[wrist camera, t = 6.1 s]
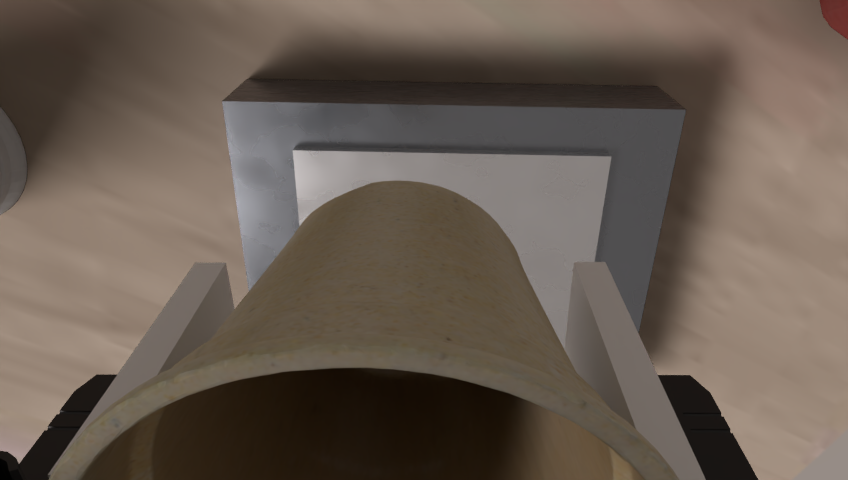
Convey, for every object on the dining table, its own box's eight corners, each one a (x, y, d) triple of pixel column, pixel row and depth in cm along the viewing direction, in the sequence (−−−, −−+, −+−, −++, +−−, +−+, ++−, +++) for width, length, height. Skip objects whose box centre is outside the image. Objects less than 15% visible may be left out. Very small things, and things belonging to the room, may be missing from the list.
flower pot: (582, 410, 18) (681, 765, 11) (269, 430, 19) (155, 778, 11) (585, 94, 14) (757, 316, 6) (180, 135, 15) (-101, 379, 7)
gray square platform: (281, 368, 39) (264, 420, 35) (247, 78, 31) (218, 104, 27) (603, 376, 39) (621, 429, 35) (657, 86, 30) (689, 113, 26)
